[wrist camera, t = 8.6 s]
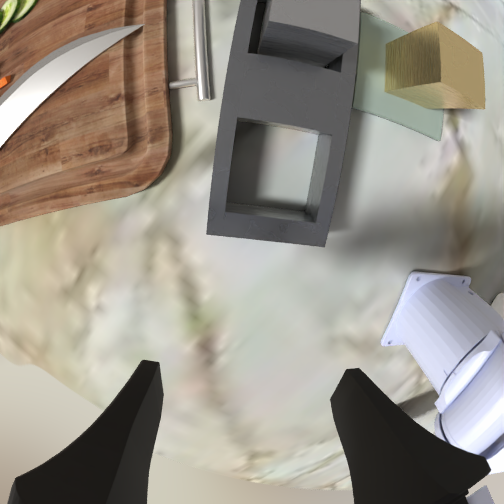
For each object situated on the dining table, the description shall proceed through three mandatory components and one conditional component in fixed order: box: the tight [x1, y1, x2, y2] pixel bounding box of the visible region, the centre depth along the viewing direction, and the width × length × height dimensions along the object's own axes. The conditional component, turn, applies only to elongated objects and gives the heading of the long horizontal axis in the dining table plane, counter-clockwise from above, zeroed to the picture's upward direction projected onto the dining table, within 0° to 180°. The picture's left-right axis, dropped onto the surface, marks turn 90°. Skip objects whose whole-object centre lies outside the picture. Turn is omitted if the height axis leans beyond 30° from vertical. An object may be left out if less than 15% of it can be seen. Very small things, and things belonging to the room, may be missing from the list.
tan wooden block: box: [384, 22, 485, 109], centre depth 11 cm, size 4×4×6 cm
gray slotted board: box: [206, 0, 361, 247], centre depth 14 cm, size 7×17×2 cm, turn 172°
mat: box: [352, 12, 444, 141], centre depth 14 cm, size 8×8×1 cm
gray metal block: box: [257, 0, 360, 68], centre depth 10 cm, size 4×4×6 cm
